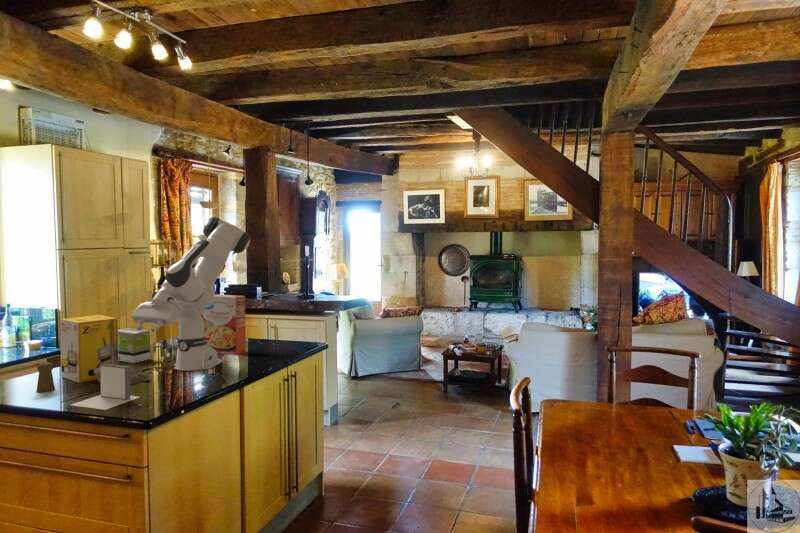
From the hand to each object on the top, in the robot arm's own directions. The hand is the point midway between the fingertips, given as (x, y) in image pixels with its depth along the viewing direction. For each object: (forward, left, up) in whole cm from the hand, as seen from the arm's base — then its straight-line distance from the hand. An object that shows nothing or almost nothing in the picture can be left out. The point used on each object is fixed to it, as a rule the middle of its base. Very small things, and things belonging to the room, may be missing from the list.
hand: (145, 330), depth 209 cm
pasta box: (-69, -14, -24) cm, 74 cm away
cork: (+15, -34, -24) cm, 44 cm away
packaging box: (-8, -37, -24) cm, 45 cm away
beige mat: (+19, 0, -23) cm, 30 cm away
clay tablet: (-5, -18, -24) cm, 30 cm away
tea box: (-38, -44, -24) cm, 63 cm away
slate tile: (+15, 0, -23) cm, 28 cm away
